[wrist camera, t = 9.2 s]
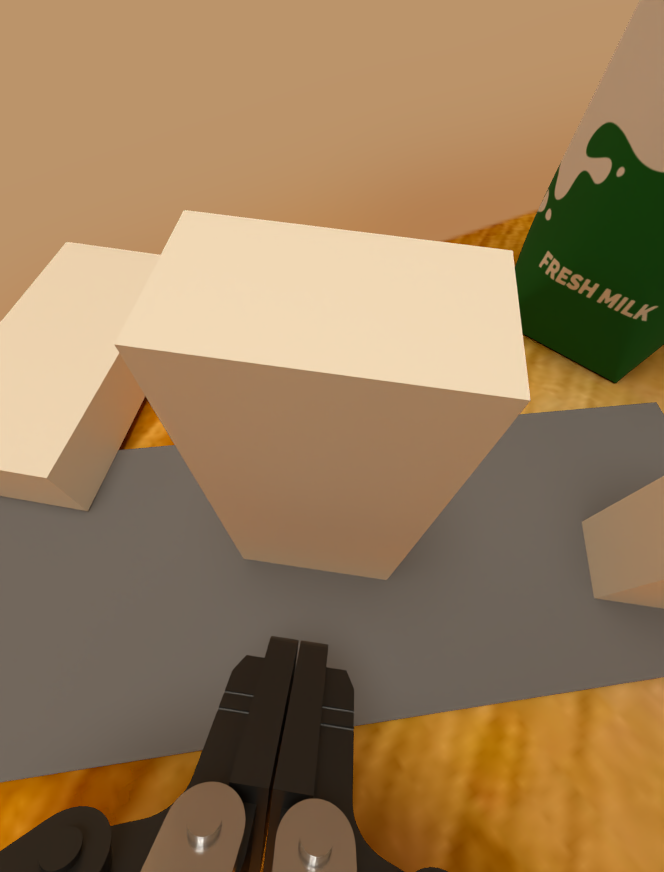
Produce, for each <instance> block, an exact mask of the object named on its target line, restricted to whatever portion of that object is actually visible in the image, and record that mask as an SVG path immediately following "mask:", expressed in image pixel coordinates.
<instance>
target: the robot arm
mask: <svg viewBox="0 0 664 872" xmlns="http://www.w3.org/2000/svg"><path fill="white" fill-rule="evenodd" d="M298 644H299V640H296V639H289V638H283V637H276V636H271V638H270V641H269V644H268V648H267V651H266V655H265V658H263V657H256V656H250V655H246V656H245V657H244V658H243V659H242V660H241V661H240V662H239V664H238V665H237V666H236V667H235V668H234V669H233V670H232V672H231V675H230V678H229V680H228V683H227V686H226V688H225V692H224V694H223V697H222V699H221V702H220V705H219V709H218V711H217V713H216V715H215V718H214V721H213V724H212V726H211V729H210V732H209V734H208V737H207V740H206V742H205V745H204V748H203V751H202V753H201V756H200V759H199V761H198V764H197V767H196V769H195V772H194V775H193V777H192V779H191V782H190V784H189V785H188V787H187V789H186V790H185V791H184V793H183V794H182V795H181V796H180V797H179V798H178V799H177V800H176V801H175V802H174V803H173V804H172V805H171V806H169V807H168V808H167V809H165V810H164V811H162V812H160V813H158V814H156V815H154V816H152V817H149V818H145V819H141V820H137V821H132V822H127V823H123V824H118V825H113V826H110V825H109V822H108V820H107V818H106V817H105V815H104V814H103V813H102V812H101V811H99V810H97V809H95V808H92V807H88V806H79V807H73V808H69V809H66V810H63V811H61V812H59V813H57V814H55V815H53V816H52V817H50V818H48V819H47V820H45V821H44V822H42V823H41V824H40V825H38V826H37V827H35V828H34V829H32V830H31V831H29V832H28V833H26V834H25V835H23V836H22V837H20V838H19V839H18V840H16V841H15V842H13V843H12V844H10V845H9V846H7V847H6V848H4V849H3V850H1V851H0V872H260V869H261V863H262V858H263V853H264V847H265V842H266V836H267V843H266V852H265V860H264V869H263V872H404V871H402V870H401V869H399V868H397V867H396V866H394V865H392V864H391V863H389V862H387V861H386V860H384V859H383V858H381V857H380V856H379V855H377V854H376V853H375V852H374V851H373V850H372V849H371V848H370V847H369V845H368V844H367V843H366V842H365V840H364V838H363V837H362V835H361V834H360V831H359V829H358V827H357V825H356V821H355V818H354V813H353V804H352V794H353V737H354V732H353V729H354V687H353V685H352V683H351V680H350V678H349V675H348V673H347V671H346V670H341V669H334V668H328V667H326V665H327V655H328V644H323V643H316V642H310V641H303V640H301V643H300V648H299V653H298V659H297V652H298ZM296 660H297V664H296ZM295 668H296V669H295ZM268 825H269V827H268ZM267 831H268V835H267ZM416 872H447V871H446V870H443V869H440V868H433V867H429V868H423V869H420V870H418V871H416Z"/></svg>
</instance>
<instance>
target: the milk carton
mask: <svg viewBox="0 0 664 872" xmlns="http://www.w3.org/2000/svg"><path fill="white" fill-rule="evenodd" d="M515 275H516V283H517V292H518V300H519V309H520V317H521V325H522V333H523V334H525V335H526V336H528V337H530V338H532V339H534V340H536V341H538V342H539V343H541V344H543V345H545V346H547V347H549V348H551V349H553V350H554V351H556V352H558V353H560V354H562V355H564V356H566V357H567V358H569V359H571V360H573V361H575V362H577V363H579V364H581V365H582V366H584V367H586V368H588V369H590V370H592V371H594V372H595V373H597V374H599V375H601V376H603V377H605V378H607V379H609V380H610V381H612V382H614V383H616V382H618V381H619V380H620V379H621V378H622V377H624V376H625V375H626V374H627V373H629V372H630V371H631V370H632V369H634V368H635V367H636V366H637V365H639V364H640V363H641V362H642V361H644V360H645V359H646V358H647V357H649V356H650V355H651V354H652V353H654V352H655V351H656V350H657V349H659V348H660V347H661V346H662V345H664V0H640V1H639V3H638V5H637V7H636V9H635V11H634V13H633V15H632V17H631V19H630V21H629V24H628V25H627V27H626V30H625V32H624V34H623V36H622V38H621V40H620V42H619V44H618V46H617V48H616V50H615V52H614V54H613V56H612V58H611V60H610V63H609V65H608V67H607V69H606V71H605V73H604V75H603V77H602V79H601V81H600V83H599V85H598V87H597V89H596V92H595V93H594V95H593V97H592V99H591V101H590V103H589V106H588V108H587V110H586V112H585V114H584V116H583V118H582V120H581V122H580V124H579V126H578V128H577V130H576V132H575V134H574V137H573V138H572V140H571V143H570V145H569V147H568V149H567V151H566V153H565V155H564V157H563V159H562V161H561V163H560V165H559V167H558V169H557V171H556V173H555V176H554V178H553V180H552V182H551V184H550V186H549V188H548V190H547V192H546V194H545V196H544V199H543V201H542V203H541V205H540V207H539V209H538V211H537V214H536V216H535V218H534V221H533V223H532V225H531V228H530V230H529V233H528V235H527V237H526V240H525V242H524V245H523V248H522V250H521V253H520V255H519V258H518V260H517V263H516V266H515Z"/></svg>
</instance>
